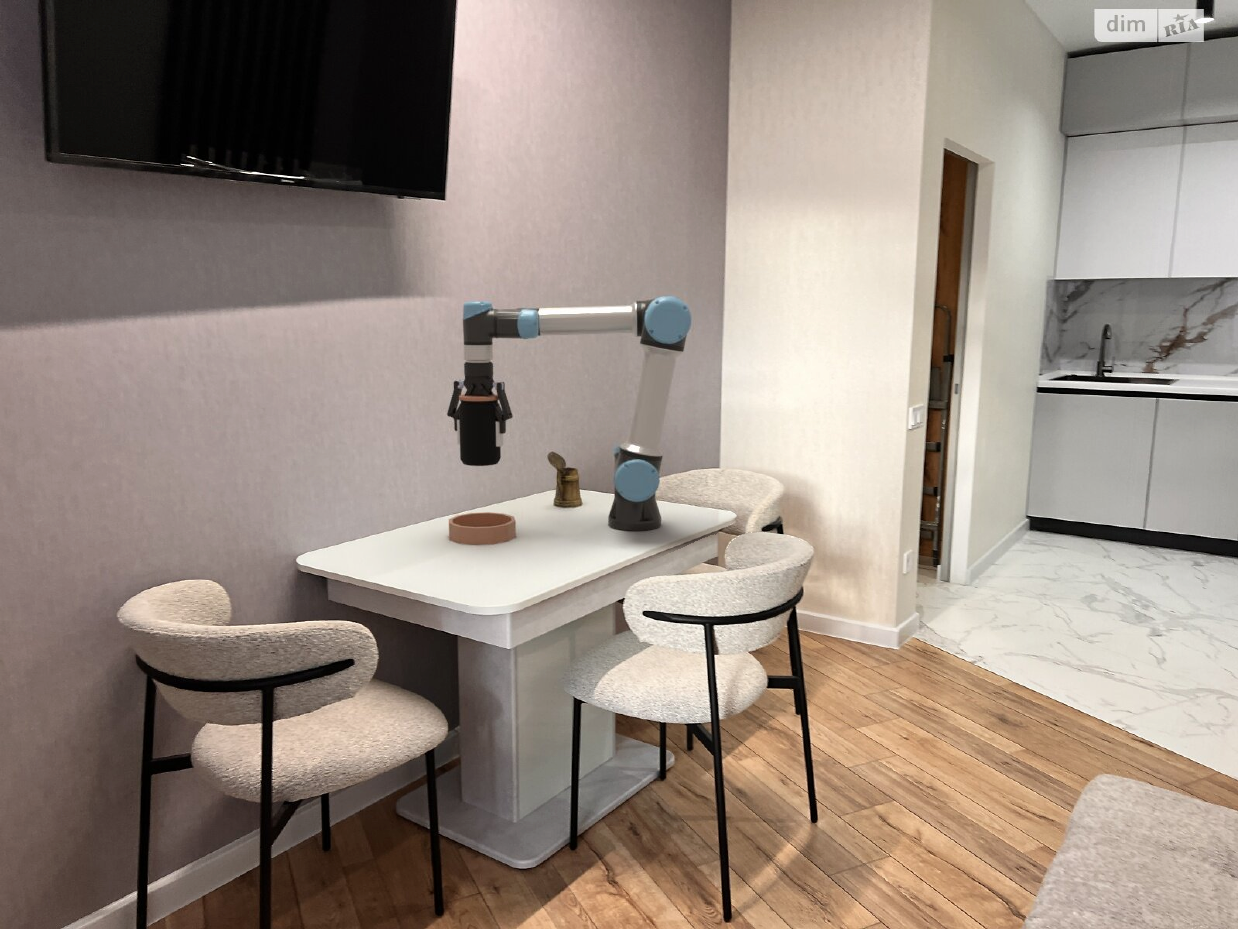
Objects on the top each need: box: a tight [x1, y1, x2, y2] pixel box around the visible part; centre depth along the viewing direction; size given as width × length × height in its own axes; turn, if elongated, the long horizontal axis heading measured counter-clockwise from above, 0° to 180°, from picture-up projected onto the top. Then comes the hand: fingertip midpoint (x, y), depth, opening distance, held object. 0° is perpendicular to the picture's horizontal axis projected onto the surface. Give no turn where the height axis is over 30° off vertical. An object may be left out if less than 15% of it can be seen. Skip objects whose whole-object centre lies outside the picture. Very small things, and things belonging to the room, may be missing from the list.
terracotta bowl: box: [448, 511, 517, 546], centre depth 252 cm, size 18×18×4 cm
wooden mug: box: [546, 451, 583, 508], centre depth 288 cm, size 9×14×18 cm, turn 151°
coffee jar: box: [458, 393, 502, 467], centre depth 247 cm, size 11×11×18 cm
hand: (480, 444), depth 248 cm, fingers closed on coffee jar, 11 cm apart
